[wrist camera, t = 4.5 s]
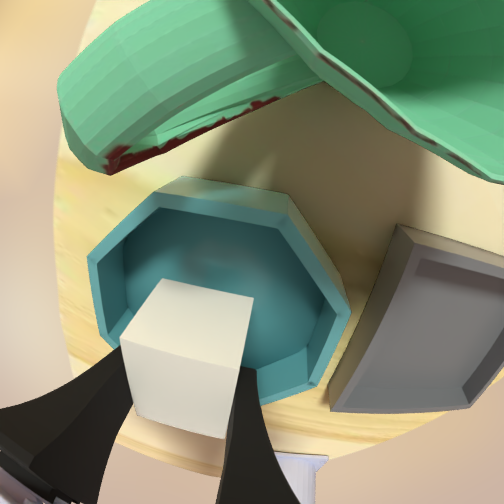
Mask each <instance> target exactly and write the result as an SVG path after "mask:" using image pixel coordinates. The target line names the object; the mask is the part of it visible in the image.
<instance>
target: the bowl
mask: <svg viewBox="0 0 504 504" xmlns="http://www.w3.org/2000/svg"><path fill="white" fill-rule="evenodd" d="M87 262H88V270H89V277H90V284H91V291H92V297H93V303H94V308H95V314H96V319H97V324H98V328H99V333H100V336H101V337H102V338H103V339H104V340H105V341H106V342H107V343H108V344H109V345H110V346H111V347H112V348H113V349H116V348H117V347H118V346H119V345H120V338H119V337H120V336H121V335H122V333H123V332H124V330H125V329H126V327H127V326H128V325H129V323H130V322H131V320H132V319H133V317H134V316H135V315H136V313H137V312H138V310H139V309H140V308H141V306H142V305H143V303H144V302H145V301H146V299H147V298H148V297H149V295H150V294H151V292H152V291H153V290H154V288H155V287H156V286H157V284H158V283H159V282H160V280H161V279H162V278H164V279H168V280H173V281H177V282H181V283H186V284H190V285H195V286H199V287H204V288H208V289H213V290H218V291H222V292H227V293H232V294H237V295H242V296H247V297H252V298H254V300H253V305H252V310H251V315H250V320H249V325H248V330H247V335H246V340H245V345H244V350H243V355H242V359H241V364H240V366H243V367H248V368H253V369H255V370H256V371H257V387H258V395H259V401H260V406H262V405H265V404H268V403H271V402H274V401H277V400H280V399H283V398H286V397H289V396H292V395H295V394H298V393H301V392H303V391H306V390H309V389H312V388H314V387H317V385H318V383H319V382H320V380H321V378H322V376H323V374H324V372H325V370H326V368H327V366H328V363H329V361H330V359H331V357H332V355H333V353H334V351H335V349H336V347H337V344H338V342H339V340H340V338H341V336H342V333H343V331H344V329H345V327H346V324H347V322H348V320H349V317H350V315H351V309H350V305H349V302H348V298H347V295H346V291H345V288H344V284H343V281H342V278H341V275H340V273H339V272H338V270H337V269H336V267H335V265H334V264H333V262H332V261H331V259H330V257H329V256H328V254H327V253H326V251H325V249H324V248H323V246H322V245H321V243H320V242H319V240H318V239H317V237H316V235H315V234H314V232H313V231H312V229H311V228H310V226H309V225H308V223H307V222H306V220H305V219H304V217H303V216H302V214H301V213H300V211H299V210H298V208H297V207H296V205H295V204H294V202H293V201H292V199H291V198H290V197H289V195H288V194H285V193H280V192H275V191H270V190H265V189H259V188H254V187H248V186H243V185H237V184H231V183H225V182H219V181H213V180H206V179H200V178H193V177H186V176H181V177H179V178H177V179H176V180H174V181H172V182H170V183H168V184H167V185H165V186H163V187H161V188H159V189H158V190H156V191H154V192H153V193H152V194H151V195H149V196H148V197H147V198H146V199H145V200H144V201H143V202H142V203H141V204H140V205H138V206H137V207H136V208H135V209H134V210H133V211H132V212H131V213H130V214H129V215H128V216H127V217H126V218H125V219H123V220H122V221H121V222H120V223H119V224H118V225H117V226H116V227H115V228H114V229H113V230H112V231H111V232H110V233H109V234H108V235H107V236H106V237H105V238H104V239H103V240H102V241H101V242H100V243H99V244H98V245H97V246H96V247H95V248H94V249H93V250H92V251H91V252H90V254H89V255H88V256H87Z"/></svg>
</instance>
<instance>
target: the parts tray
mask: <svg viewBox="0 0 504 504" xmlns="http://www.w3.org/2000/svg"><path fill="white" fill-rule="evenodd" d="M503 367H504V256H501V255H498V254H496V253H493V252H490V251H487V250H484V249H481V248H478V247H475V246H471V245H468V244H465V243H462V242H459V241H456V240H452V239H449V238H446V237H442V236H439V235H436V234H432V233H429V232H425V231H422V230H418V229H415V228H411V227H407V226H404V225H400V224H396V227H395V230H394V233H393V236H392V239H391V242H390V245H389V248H388V251H387V254H386V256H385V259H384V262H383V265H382V267H381V270H380V272H379V275H378V278H377V280H376V283H375V285H374V288H373V290H372V293H371V295H370V297H369V300H368V302H367V305H366V307H365V309H364V311H363V314H362V316H361V318H360V320H359V323H358V325H357V327H356V329H355V331H354V334H353V336H352V338H351V340H350V342H349V344H348V346H347V348H346V350H345V352H344V354H343V356H342V358H341V360H340V362H339V364H338V366H337V368H336V370H335V372H334V374H333V376H332V377H331V379H330V381H329V383H328V390H329V403H330V412H344V413H371V414H399V413H424V412H439V411H450V410H459V409H467V408H470V407H471V406H472V405H473V404H474V403H475V401H476V400H477V399H478V398H479V397H480V396H481V395H482V393H483V392H484V391H485V390H486V389H487V387H488V386H489V385H490V384H491V382H492V381H493V380H494V379H495V377H496V376H497V375H498V373H499V372H500V371H501V369H502V368H503Z"/></svg>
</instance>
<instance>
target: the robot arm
mask: <svg viewBox="0 0 504 504" xmlns="http://www.w3.org/2000/svg"><path fill="white" fill-rule="evenodd" d="M132 405H133V399H132V395H131V391H130V387H129V382H128V378H127V374H126V369H125V364H124V359H123V354H122V349H121V344H120V345H119V346H118V347H117V348H116V349H114V350H113V351H112V352H111V353H109V354H108V355H107V356H106V357H104V358H103V359H102V360H100V361H99V362H98V363H96V364H95V365H94V366H92V367H91V368H90V369H88V370H87V371H85V372H84V373H82V374H81V375H79V376H78V377H76V378H75V379H73V380H72V381H70V382H68V383H67V384H65V385H63V386H61V387H59V388H58V389H56V390H54V391H52V392H50V393H47V394H45V395H43V396H41V397H39V398H36V399H33V400H30V401H27V402H24V403H22V404H19V405H15V406H11V407H6V408H2V409H0V450H1V451H0V504H43V502H44V503H45V504H71V502H74V503H76V504H80V502H81V503H83V504H97V500H98V496H99V491H100V487H101V482H102V478H103V475H104V471H105V468H106V465H107V461H108V458H109V455H110V452H111V449H112V446H113V444H114V441H115V439H116V436H117V434H118V432H119V430H120V428H121V426H122V424H123V422H124V420H125V418H126V416H127V414H128V412H129V411H130V409H131V407H132ZM328 460H329V457H328V456H322V455H304V454H292V453H282V452H274V451H273V448H272V445H271V443H270V440H269V437H268V433H267V430H266V427H265V423H264V419H263V415H262V411H261V406H260V401H259V395H258V387H257V371H256V370H255V369H253V368H248V367H243V366H240V369H239V374H238V379H237V383H236V388H235V393H234V398H233V402H232V407H231V412H230V416H229V421H228V429H227V439H226V448H225V458H224V465H223V471H222V476H221V480H220V485H219V490H218V494H217V499H216V504H315V477H316V476H315V475H316V472H317V471H318V470H319V469H320V468H321V467H322V466H323V465H324V464H325V463H326V462H327V461H328Z"/></svg>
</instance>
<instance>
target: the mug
mask: <svg viewBox="0 0 504 504" xmlns="http://www.w3.org/2000/svg"><path fill="white" fill-rule="evenodd" d="M323 81H325V82H326V83H328V84H329V85H331V86H332V87H333V88H335V89H336V90H337V91H339V92H340V93H341V94H343V95H344V96H345V97H347V98H348V99H349V100H350V101H352V102H353V103H354V104H356V105H358V106H359V107H361V108H363V109H364V110H365V111H366V112H368V113H369V114H370V115H371V116H372V117H374V118H375V119H376V120H377V121H378V122H379V123H381V124H382V125H383V126H384V127H385V128H386V129H388V130H390V131H392V132H394V133H396V134H398V135H400V136H402V137H404V138H406V139H408V140H410V141H412V142H414V143H416V144H418V145H420V146H422V147H424V148H425V149H427V150H429V151H431V152H433V153H434V154H436V155H438V156H440V157H441V158H443V159H445V160H446V161H448V162H450V163H451V164H453V165H455V166H456V167H458V168H460V169H462V170H463V171H465V172H467V173H468V174H471V175H473V176H476V177H478V178H481V179H483V180H486V181H488V182H492V183H497V184H501V185H504V0H150V1H148V2H146V3H145V4H143V5H141V6H140V7H138V8H136V9H135V10H133V11H131V12H130V13H128V14H127V15H125V16H123V17H122V18H120V19H119V20H117V21H116V22H115V23H114V24H112V25H111V26H110V27H109V28H108V29H106V30H105V31H104V32H103V33H102V34H101V35H100V36H98V37H97V38H96V39H95V40H94V41H93V42H92V43H91V44H90V45H89V46H88V47H86V48H85V49H84V50H83V51H82V52H81V53H80V54H79V55H78V56H77V57H76V58H75V59H74V60H73V61H72V62H71V63H70V64H69V66H68V67H67V68H66V69H65V70H64V71H63V72H62V73H61V75H60V76H59V78H58V83H57V93H58V99H59V104H60V110H61V116H62V122H63V127H64V132H65V137H66V140H67V143H68V145H69V148H70V150H71V151H72V152H73V153H74V155H75V156H76V157H77V158H78V159H79V160H80V161H81V162H82V163H83V164H84V165H85V166H86V167H87V168H88V169H91V170H94V171H97V172H100V173H103V174H106V175H110V176H111V175H113V174H115V173H118V172H120V171H122V170H124V169H127V168H129V167H131V166H133V165H136V164H138V163H140V162H143V161H145V160H147V159H150V158H152V157H155V156H157V155H161V154H164V153H166V152H168V151H170V150H172V149H174V148H176V147H178V146H179V145H181V144H183V143H185V142H187V141H189V140H191V139H193V138H195V137H197V136H199V135H201V134H203V133H206V132H208V131H210V130H212V129H214V128H216V127H218V126H221V125H223V124H225V123H227V122H229V121H232V120H234V119H236V118H239V117H241V116H243V115H246V114H248V113H250V112H253V111H255V110H257V109H259V108H261V107H263V106H265V105H268V104H270V103H272V102H274V101H276V100H279V99H281V98H283V97H286V96H288V95H290V94H293V93H295V92H297V91H300V90H302V89H305V88H307V87H310V86H312V85H315V84H317V83H320V82H323Z"/></svg>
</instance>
